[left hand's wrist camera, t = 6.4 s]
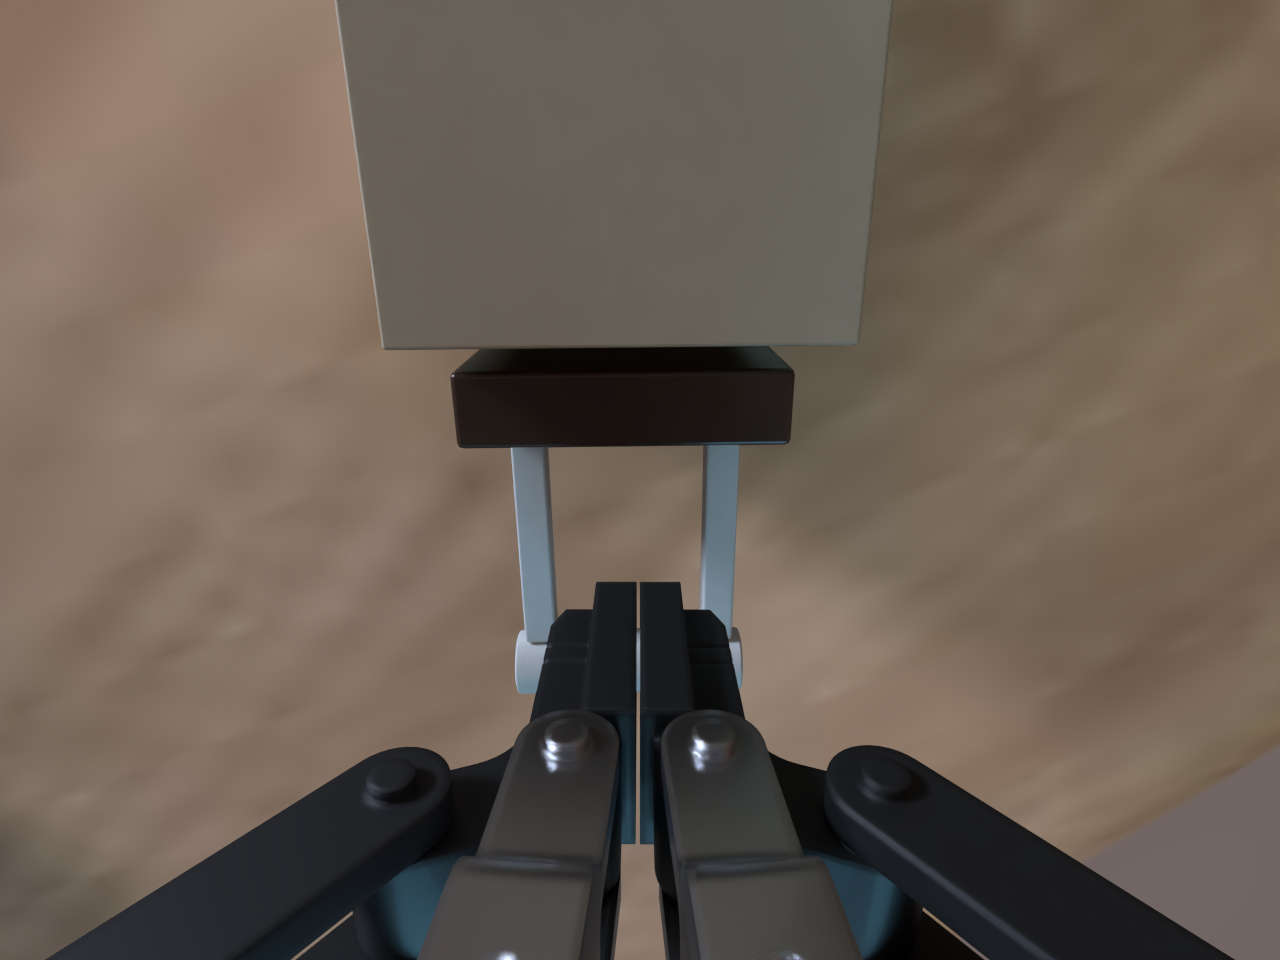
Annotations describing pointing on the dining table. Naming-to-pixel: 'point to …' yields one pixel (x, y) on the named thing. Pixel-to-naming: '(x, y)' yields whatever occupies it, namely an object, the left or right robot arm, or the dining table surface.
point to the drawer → (621, 416)
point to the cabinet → (616, 169)
